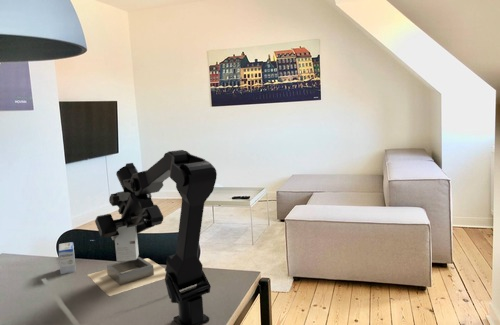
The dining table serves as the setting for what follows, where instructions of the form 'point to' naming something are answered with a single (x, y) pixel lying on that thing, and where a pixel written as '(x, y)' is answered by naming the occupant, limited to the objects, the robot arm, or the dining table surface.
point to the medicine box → (66, 258)
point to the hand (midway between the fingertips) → (124, 235)
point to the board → (114, 288)
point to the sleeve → (133, 275)
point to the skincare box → (126, 244)
